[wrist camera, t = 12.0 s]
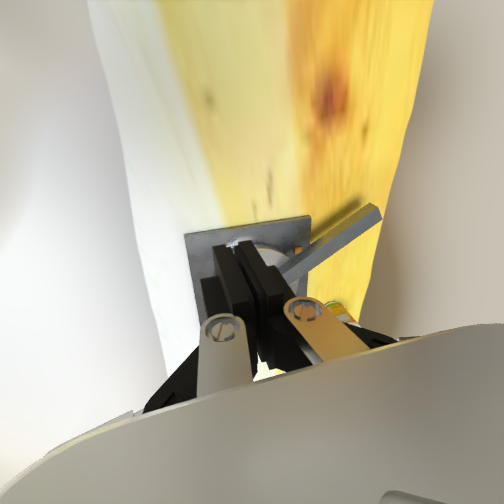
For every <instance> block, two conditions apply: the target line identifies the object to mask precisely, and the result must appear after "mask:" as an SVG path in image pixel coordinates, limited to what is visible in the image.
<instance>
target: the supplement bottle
mask: <svg viewBox="0 0 504 504" xmlns="http://www.w3.org/2000/svg"><path fill="white" fill-rule="evenodd" d="M325 306H326V307H327V308H328V309H329V310H330V311H331V312H332V313H333V314H334V315H335V316H336V317H337V318H338V319H339V320H340V321H342V322H345V323H348V324H351V325H355V326H358V327H360V325H359V324H358V323H357V322H356V321H355V320H354V318H353V317H352V316H351V315H350V314H349V313H348V311H347V310H346V309H345V308H344V307H343V306H342V305H341V304H340V303H339V302H329V303H327V304H326V305H325Z"/></svg>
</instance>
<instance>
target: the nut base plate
mask: <svg viewBox="0 0 504 504" xmlns="http://www.w3.org/2000/svg"><path fill="white" fill-rule="evenodd" d="M310 233H311V217H310V216H309V215H308V216H301V217H295V218H288V219H282V220H275V221H269V222H262V223H256V224H249V225H243V226H236V227H230V228H223V229H217V230H210V231H204V232H197V233H191V234H184V236H185V242H186V248H187V253H188V259H189V264H190V270H191V275H192V281H193V287H194V292H195V298H196V303H197V309H198V314H199V320H200V325H201V326H202V325H203V323H204V322H205V321H206V320H207V318H206V312H205V307H204V302H203V296H202V290H201V284H200V279H202V278H207V277H213V276H215V267H214V259H213V252H212V246H217V245H223V244H225V245H226V247H231V249H232V251H233V252H234V246H237V245H238V242H241V241H247V240H251V241H252V242H253V244H254V245H256V244H264V245H270V246H273V247H276V248H278V249H280V250H281V251H282V252H284V253H285V254H286V255H287V257H288V258H289V259H291V258H293V257H294V256H296V255H297V254H298V253H300V252H301V251H303V250H304V249H305V248H307V247H308V246H310ZM307 282H308V272H307V273H306V274H304V275H303V276H302V277H300V278H299V279H298V288H297V291H296V294H295V295H296V297H307Z"/></svg>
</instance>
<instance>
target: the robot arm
mask: <svg viewBox="0 0 504 504" xmlns="http://www.w3.org/2000/svg"><path fill="white" fill-rule="evenodd" d="M212 252H213V259H214V267H215V275H216V276H213V277H207V278H202V279H200V284H201V290H202V296H203V302H204V307H205V312H206V318H207V320H206V321H205V322H204V323H203V325H202V326H201V330H200V341H199V346H198V347H197V348H196V349H195V350H194V351H193V352H192V353H191V354H190V355H189V356H188V358H187V359H186V360H185V361H184V362H183V363H182V364H181V365H180V366H179V367H178V369H177V370H176V371H175V372H174V373H173V374H172V375H171V376H170V377H169V378H168V379H167V381H166V382H165V383H164V384H163V385H162V386H161V387H160V388H159V389H158V390H157V392H156V393H155V394H154V395H153V396H152V397H151V398H150V400H149V401H148V402H147V404H146V405H145V408H144V409H142V410H140V411H138V412H136V413H133V411H132V410H131V411H129V412H127V413H125V414H123V415H121V416H119V417H117V418H115V419H112V420H110V421H108V422H106V423H104V424H102V425H100V426H98V427H96V428H94V429H92V430H90V431H88V432H85V433H83V434H82V435H79V436H77V437H75V438H73V439H71V440H69V441H67V442H65V443H63V444H61V445H59V446H57V447H56V448H54V449H52V450H51V451H49V452H48V453H47V454H46V455H45V456H44V457H43V458H42V459H40V460H38V461H37V462H35V463H33V464H32V465H30V466H29V467H28V468H26V469H25V470H23V471H22V472H21V473H19V474H18V475H17V476H15V477H14V478H13V479H12V480H10V481H9V482H8V483H7V484H6V485H4V486H3V487H2V488H1V489H0V504H504V324H498V323H496V324H477V325H470V326H463V327H458V328H454V329H449V330H445V331H440V332H436V333H432V334H428V335H424V336H415V337H398V339H397V341H396V340H394V339H393V338H391V337H389V336H386V335H383V334H380V333H377V332H374V331H371V330H367V329H364V328H361V327H358V326H355V325H351V324H348V323H345V322H342V321H340V320H339V319H338V318H337V317H336V316H335V315H334V314H333V313H332V312H331V311H330V310H329V309H328V308H327V307H326V306H325V305H324V304H322V303H321V302H320V301H318V300H316V299H314V298H311V297H296V295H295V294H294V292H293V291H292V289H291V288H290V286H289V285H288V283H287V282H286V280H285V279H284V278H283V276H282V275H281V273H280V272H279V270H278V269H277V267H276V266H275V265H271V266H267V265H266V263H265V262H264V260H263V258H262V257H261V255H260V254H259V252H258V250H257V249H256V247H255V246H254V244H253V242H252V241H251V240H247V241H241V242H238V245H237V246H234V253H233V251H232V249H231V247H226V245H225V244H223V245H217V246H212ZM257 352H258V353H257ZM258 355H259V357H260V360H261V362H267V365H268V368H269V370H272V369H275V368H277V369H280V370H282V371H283V374H280V375H276V376H273V377H269V378H265V379H262V380H258V381H255V382H253V378H254V377H255V375H256V374H257V372H258V371H257V364H258Z"/></svg>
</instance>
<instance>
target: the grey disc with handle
mask: <svg viewBox="0 0 504 504" xmlns="http://www.w3.org/2000/svg"><path fill="white" fill-rule="evenodd" d="M381 220H382V217H381V214H380V211H379V209H378V207H377V206H375V205H373V204H371V203H368V204H367V205H366V206H364V207H363V208H361V209H360V210H359V211H357V212H356V213H354V214H353V215H352V216H350V217H349V218H347V219H346V220H345V221H343V222H342V223H340V224H339V225H338V226H336V227H335V228H333V229H332V230H331V231H329V232H328V233H326V234H325V235H324V236H322V237H321V238H319V239H318V240H317V241H315V242H314V243H312V244H311V245H310V246H308V247H307V248H305V249H304V250H303V251H301V252H300V253H298V254H297V255H296V256H294V257H293V258H291V259H289V258H288V257H287V255H286V254H285V253H284V252H282V251H281V250H280V249H278V248H276V247H273V246H270V245H264V244H256V245H254V246H255V247H256V249H257V250H258V252H259V254H260V255H261V257H262V258H263V260H264V262H265V263H266V265H267V266H271V265H275V266H276V267H277V269H278V270H279V272H280V273H281V275H282V276H283V278H284V279H285V280H286V282H287V283H288V285H289V286H290V288H291V289H292V291H293V292H294V294H296V291H297V288H298V279H299V278H300V277H302V276H303V275H304V274H306V273H307V272H309V271H310V270H311V269H313V268H314V267H316V266H317V265H319V264H320V263H321V262H323V261H324V260H326V259H327V258H328V257H330V256H331V255H333V254H334V253H335V252H337V251H338V250H340V249H341V248H343V247H344V246H345V245H347V244H348V243H350V242H351V241H352V240H354V239H355V238H357V237H358V236H359V235H361V234H362V233H364V232H365V231H367V230H368V229H369V228H371V227H372V226H374V225H375V224H376V223H378V222H379V221H381ZM233 253H234V252H233ZM215 276H216V275H215Z"/></svg>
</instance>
